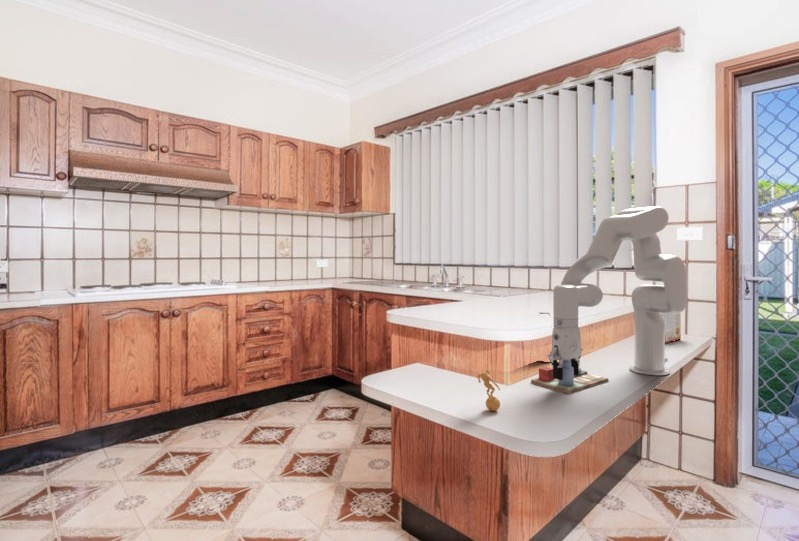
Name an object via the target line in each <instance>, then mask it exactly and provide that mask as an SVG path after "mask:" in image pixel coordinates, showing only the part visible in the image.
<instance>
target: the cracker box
mask: <svg viewBox="0 0 799 541" xmlns="http://www.w3.org/2000/svg"><path fill="white" fill-rule="evenodd" d="M660 314H661V316H662V318H663V320H664V323H665V342H669V343H671V342H670V341H673V342H675V341H674V340H678V339H681V340H682V337H681V336H682V335H681V333H682V331H681V330H682V328H681V327H682V326H681V324H682V322H681V321H682V320H681V319H682V318H681V317H682V312H681V313H678V314H670V313H662V312H660ZM678 341H679V340H678Z"/></svg>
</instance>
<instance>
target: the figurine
mask: <svg viewBox="0 0 799 541" xmlns="http://www.w3.org/2000/svg"><path fill="white" fill-rule="evenodd" d="M490 373H491V371H490V370H489V369H486V370H485V371H483V372H481V373H480V374H477V380H478V381H477V382H478V383H481V381H483V385H484V387H485V388H487V389H486V395H487V396H488V397H487V399H486V400H485V407H486V409H488V410H489V411H491V412H496V411H498V410H499V409H500V407H501V401H500V399H499V398H498V397H497V396H494V395H493V394H494V392H495V391H496V390H495V389H496V388H497V389H498V390H499V391H500V390H501V388H500V387H499V385H498V383H496V382H495V381H494V380H493V378H492V377H491V376H490ZM480 377H481V378H480ZM490 382H492V383H493V384H494V385H495V387H496V388H495V387H494V386H493V385H492V383H490Z"/></svg>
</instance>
